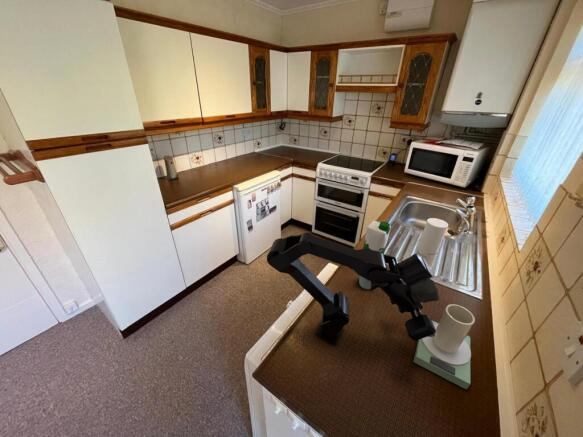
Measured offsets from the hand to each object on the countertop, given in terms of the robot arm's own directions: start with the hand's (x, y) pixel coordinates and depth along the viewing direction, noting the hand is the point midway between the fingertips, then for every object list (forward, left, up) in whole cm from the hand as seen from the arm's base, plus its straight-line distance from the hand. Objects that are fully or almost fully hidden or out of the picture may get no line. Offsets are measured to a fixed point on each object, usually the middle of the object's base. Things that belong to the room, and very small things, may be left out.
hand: (427, 321), depth 68 cm
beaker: (+3, -7, -8) cm, 11 cm away
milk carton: (+34, +24, -12) cm, 44 cm away
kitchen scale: (+2, -7, -11) cm, 13 cm away
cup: (+17, +21, -12) cm, 30 cm away
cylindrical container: (+37, +4, -12) cm, 39 cm away
